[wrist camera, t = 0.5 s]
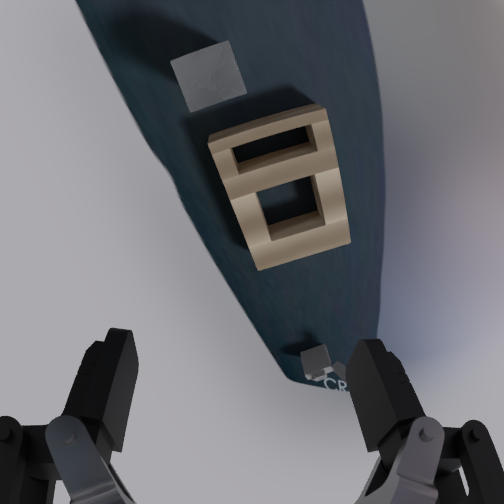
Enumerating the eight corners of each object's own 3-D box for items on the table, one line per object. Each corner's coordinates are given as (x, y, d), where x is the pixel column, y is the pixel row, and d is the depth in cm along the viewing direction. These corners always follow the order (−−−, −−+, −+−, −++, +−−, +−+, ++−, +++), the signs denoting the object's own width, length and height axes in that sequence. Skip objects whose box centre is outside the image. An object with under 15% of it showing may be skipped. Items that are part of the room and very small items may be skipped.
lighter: (302, 357, 47) (312, 400, 41) (299, 352, 46) (309, 396, 40) (344, 342, 46) (358, 384, 39) (342, 336, 45) (356, 379, 38)
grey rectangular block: (187, 60, 22) (170, 61, 15) (227, 46, 21) (228, 40, 14) (201, 95, 24) (190, 112, 17) (240, 82, 23) (247, 93, 16)
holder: (209, 135, 26) (207, 143, 24) (315, 103, 25) (325, 108, 22) (255, 253, 34) (258, 270, 32) (341, 227, 33) (350, 242, 31)
